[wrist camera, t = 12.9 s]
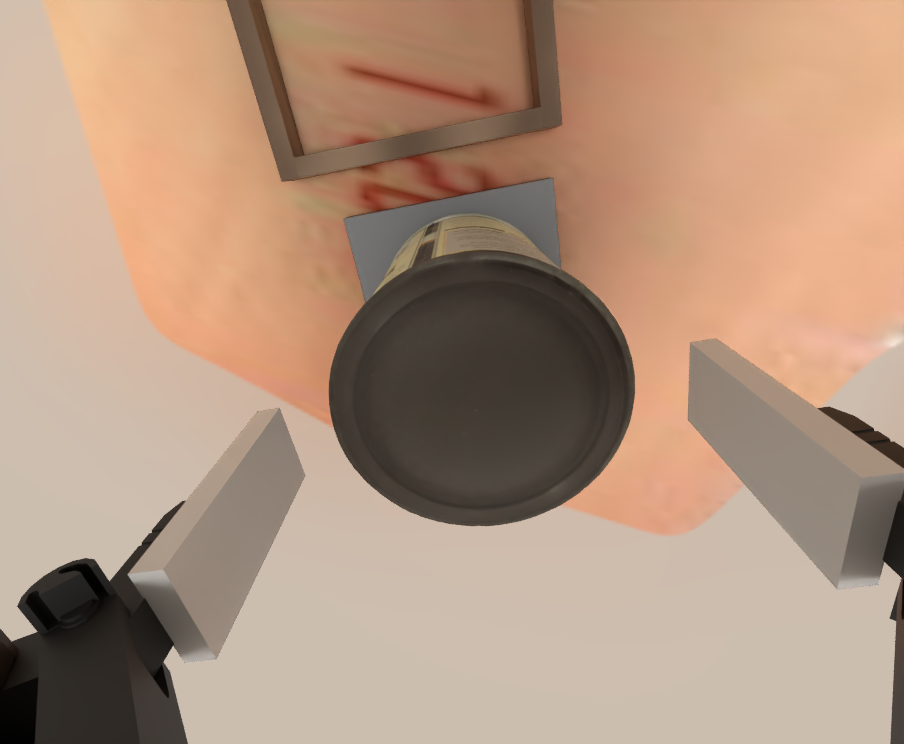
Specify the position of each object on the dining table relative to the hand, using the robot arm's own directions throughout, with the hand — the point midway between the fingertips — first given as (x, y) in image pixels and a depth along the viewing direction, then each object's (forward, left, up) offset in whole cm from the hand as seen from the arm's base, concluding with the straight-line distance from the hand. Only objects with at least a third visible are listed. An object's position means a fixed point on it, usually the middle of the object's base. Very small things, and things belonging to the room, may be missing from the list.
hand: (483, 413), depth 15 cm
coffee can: (0, 0, -15) cm, 15 cm away
